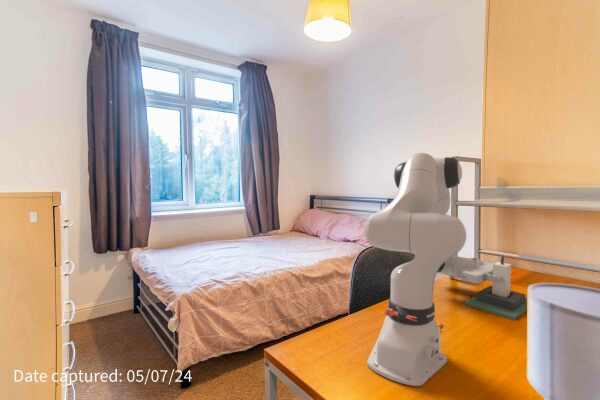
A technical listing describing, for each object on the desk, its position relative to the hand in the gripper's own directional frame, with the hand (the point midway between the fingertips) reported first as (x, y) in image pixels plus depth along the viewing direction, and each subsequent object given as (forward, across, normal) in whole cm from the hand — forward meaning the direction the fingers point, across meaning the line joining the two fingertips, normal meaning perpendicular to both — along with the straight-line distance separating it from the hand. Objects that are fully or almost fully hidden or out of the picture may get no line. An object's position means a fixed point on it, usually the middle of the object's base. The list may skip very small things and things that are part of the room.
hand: (504, 277), depth 114 cm
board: (-1, 0, +10) cm, 10 cm away
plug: (-1, 0, +7) cm, 7 cm away
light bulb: (-26, +13, +10) cm, 31 cm away
